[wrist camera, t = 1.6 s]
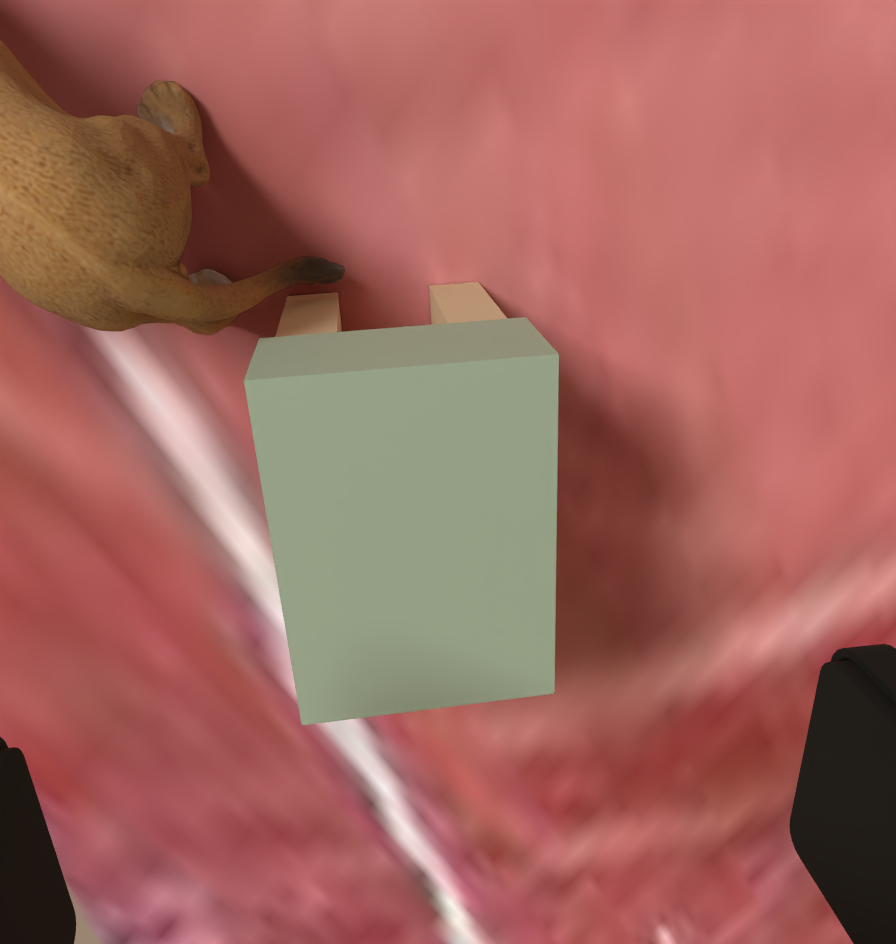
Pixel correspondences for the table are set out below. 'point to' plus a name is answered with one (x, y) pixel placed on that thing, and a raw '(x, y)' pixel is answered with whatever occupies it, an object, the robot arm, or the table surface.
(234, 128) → the table surface
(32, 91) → the lion figurine
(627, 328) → the table surface
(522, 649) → the sage stool
